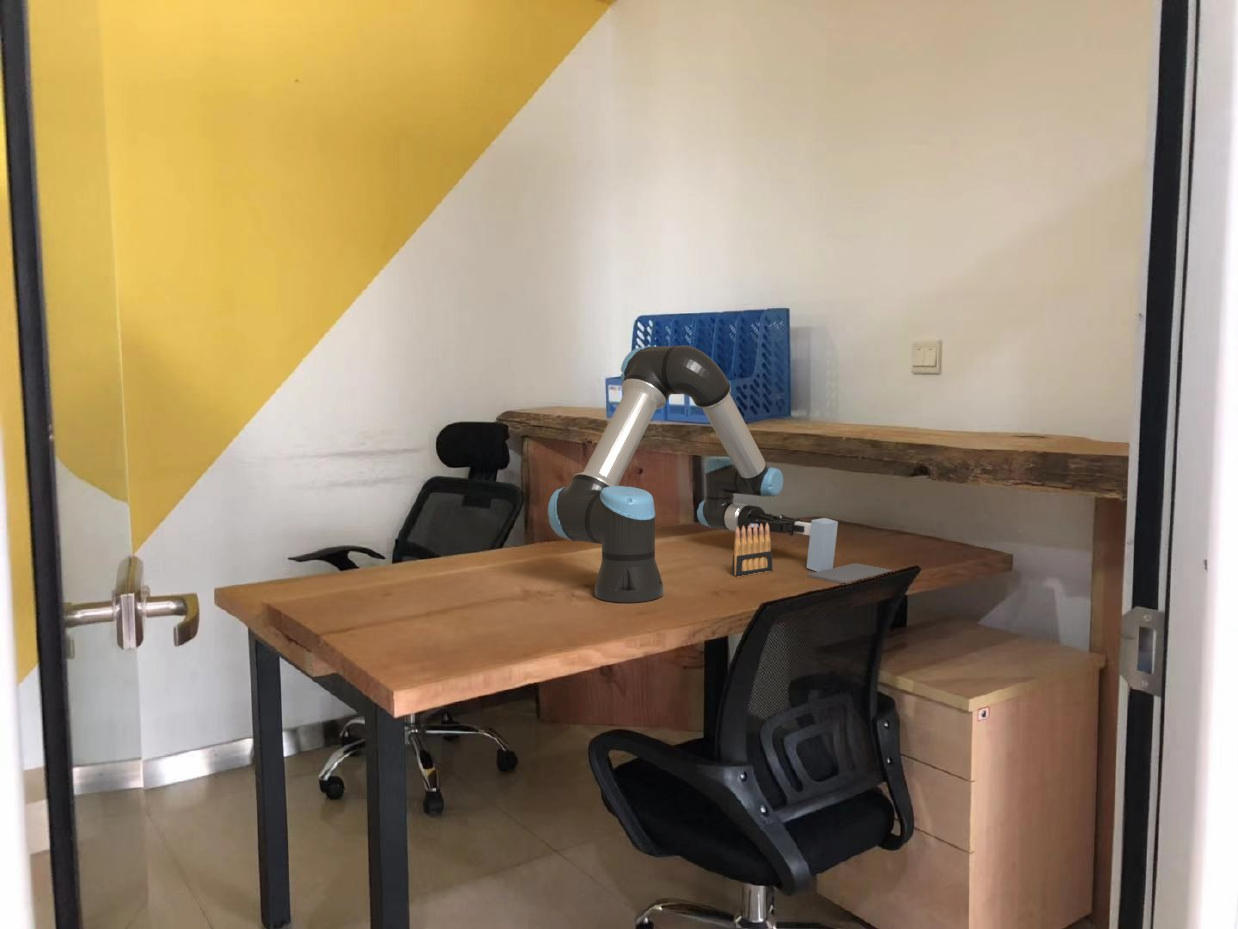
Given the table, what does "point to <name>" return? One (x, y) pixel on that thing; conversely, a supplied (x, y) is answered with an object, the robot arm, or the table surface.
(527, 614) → the table surface
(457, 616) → the table surface
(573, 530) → the robot arm
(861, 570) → the mat
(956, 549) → the table surface
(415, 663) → the table surface
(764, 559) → the ammunition clip
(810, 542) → the block
